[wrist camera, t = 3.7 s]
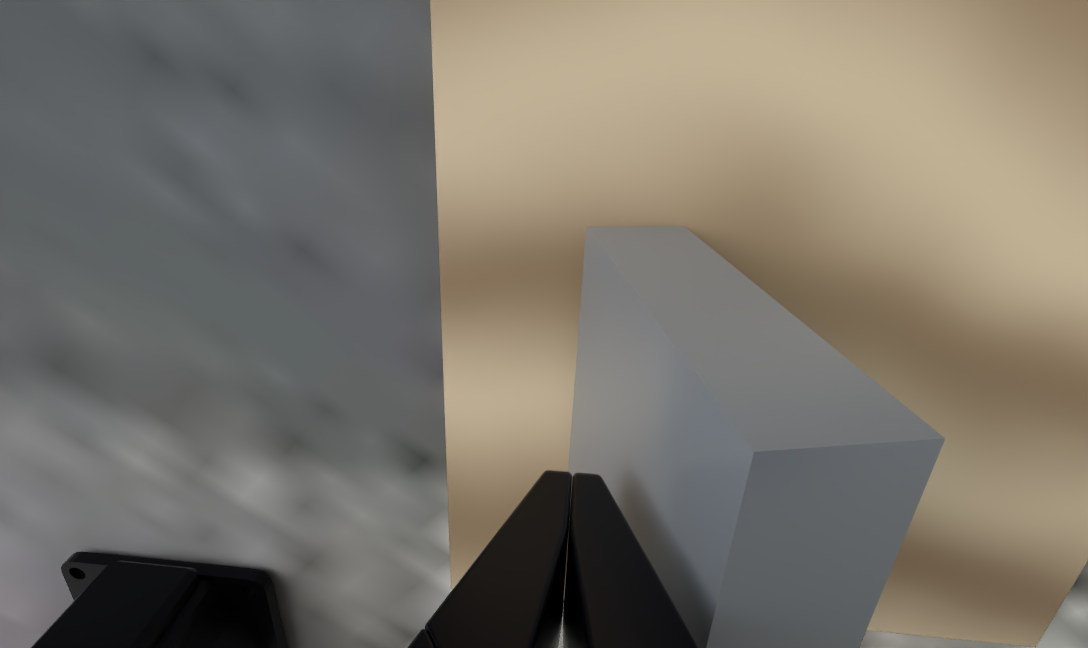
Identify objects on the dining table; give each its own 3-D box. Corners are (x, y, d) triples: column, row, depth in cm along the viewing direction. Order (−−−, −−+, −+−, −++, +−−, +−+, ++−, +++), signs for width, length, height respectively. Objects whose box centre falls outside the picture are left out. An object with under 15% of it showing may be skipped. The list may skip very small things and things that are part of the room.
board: (1017, 621, 17) (1035, 647, 16) (457, 565, 18) (451, 588, 17) (1480, -192, 9) (1556, -212, 8) (434, -218, 10) (421, -236, 9)
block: (654, 463, 15) (812, 783, 8) (567, 469, 14) (667, 807, 8) (691, 225, 12) (959, 437, 6) (586, 226, 12) (754, 452, 6)
